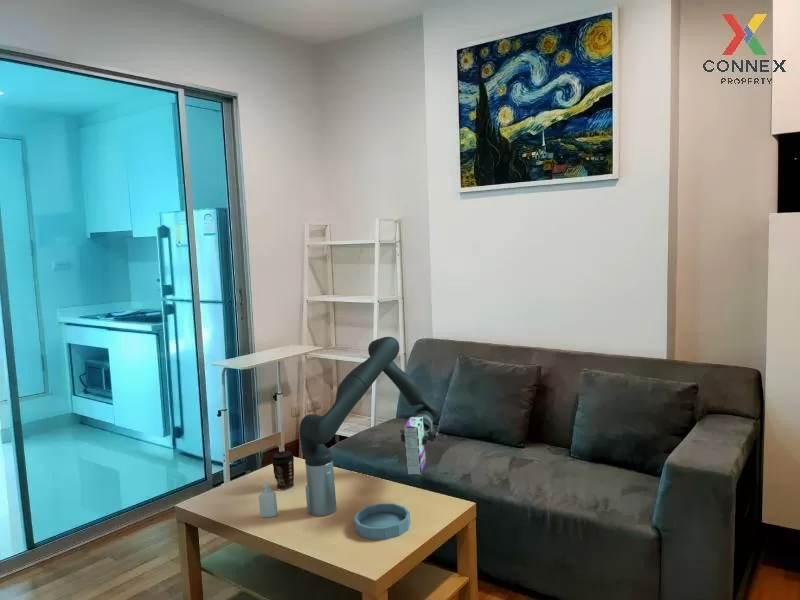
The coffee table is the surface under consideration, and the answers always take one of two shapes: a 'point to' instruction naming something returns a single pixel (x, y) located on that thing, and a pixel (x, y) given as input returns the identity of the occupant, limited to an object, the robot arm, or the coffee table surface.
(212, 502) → the coffee table surface
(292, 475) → the coffee cup
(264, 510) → the eye dropper bottle
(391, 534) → the bowl
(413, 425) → the candy bar box
